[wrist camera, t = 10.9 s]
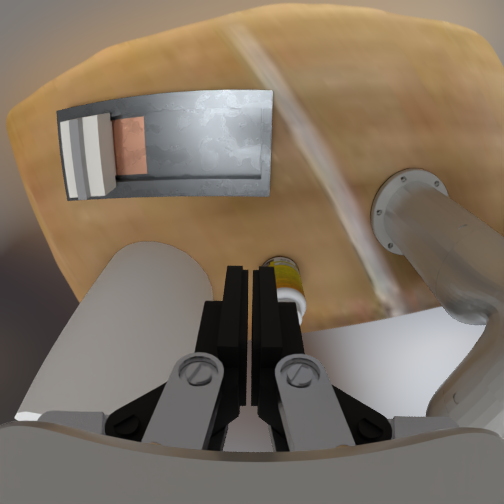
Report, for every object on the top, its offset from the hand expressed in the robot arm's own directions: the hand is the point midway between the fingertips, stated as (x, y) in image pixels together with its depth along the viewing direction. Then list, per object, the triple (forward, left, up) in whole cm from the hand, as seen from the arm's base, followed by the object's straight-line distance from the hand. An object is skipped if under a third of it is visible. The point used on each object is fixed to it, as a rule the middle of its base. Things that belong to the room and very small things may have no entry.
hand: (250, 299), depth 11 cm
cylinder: (+14, +20, -27) cm, 37 cm away
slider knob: (+19, -2, -25) cm, 31 cm away
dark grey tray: (+11, -2, -27) cm, 29 cm away
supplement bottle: (-4, +16, -27) cm, 32 cm away
